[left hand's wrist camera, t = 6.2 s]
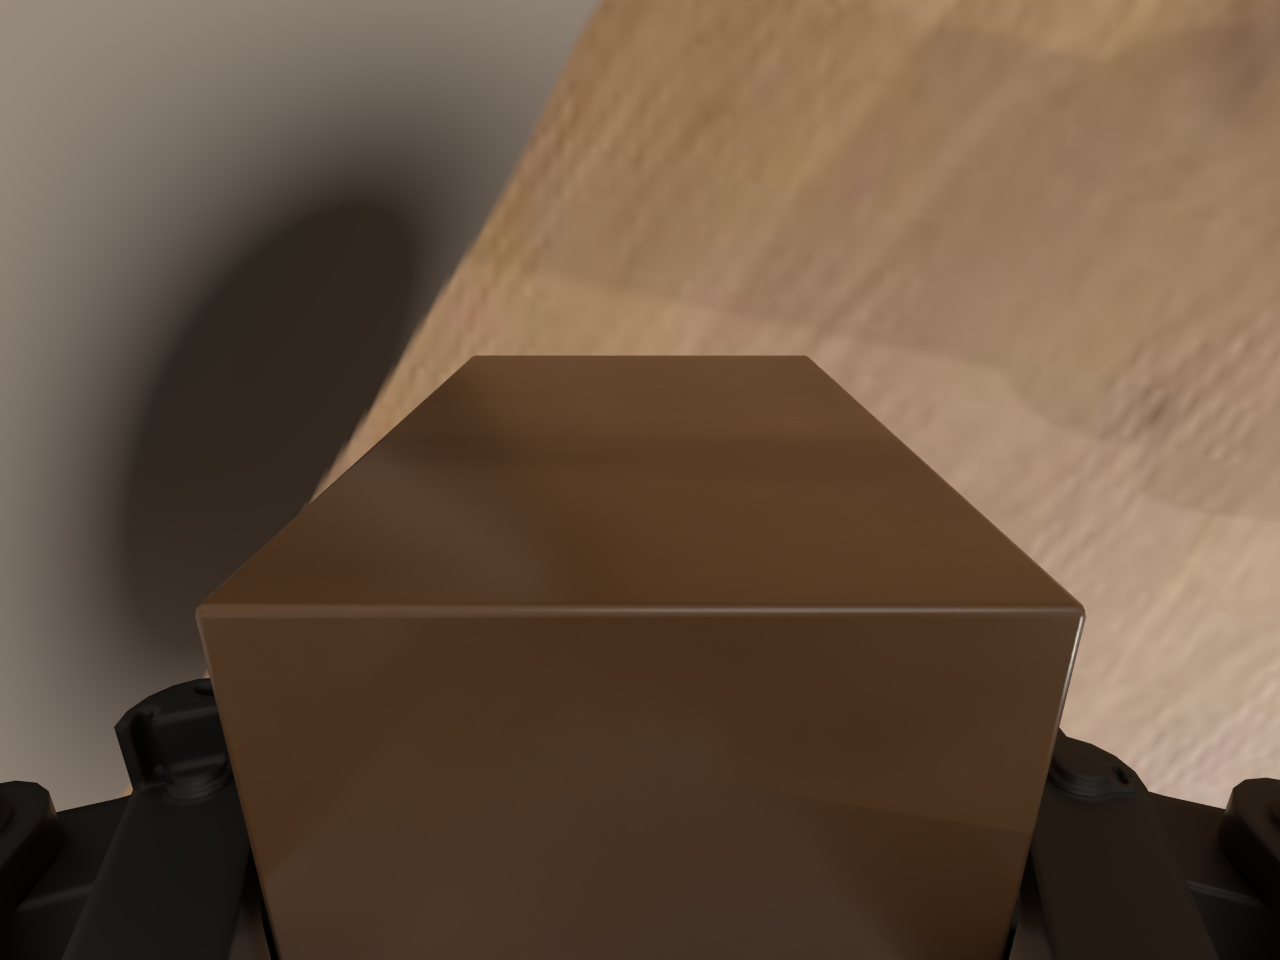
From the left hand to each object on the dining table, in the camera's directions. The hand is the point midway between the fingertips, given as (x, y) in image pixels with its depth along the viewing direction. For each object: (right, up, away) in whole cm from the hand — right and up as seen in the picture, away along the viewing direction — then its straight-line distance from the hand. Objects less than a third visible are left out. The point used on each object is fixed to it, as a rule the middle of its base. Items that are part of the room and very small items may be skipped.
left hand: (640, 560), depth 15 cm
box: (0, -7, +3) cm, 7 cm away
